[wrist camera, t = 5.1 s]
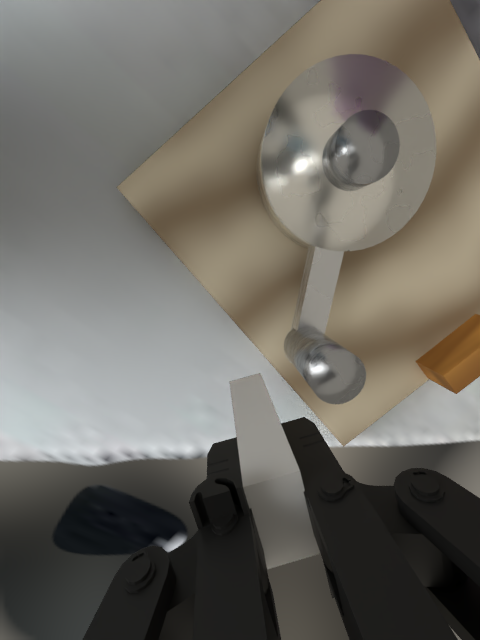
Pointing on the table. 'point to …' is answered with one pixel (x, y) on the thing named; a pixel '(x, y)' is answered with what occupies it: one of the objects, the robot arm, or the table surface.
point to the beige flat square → (357, 266)
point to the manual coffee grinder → (341, 190)
